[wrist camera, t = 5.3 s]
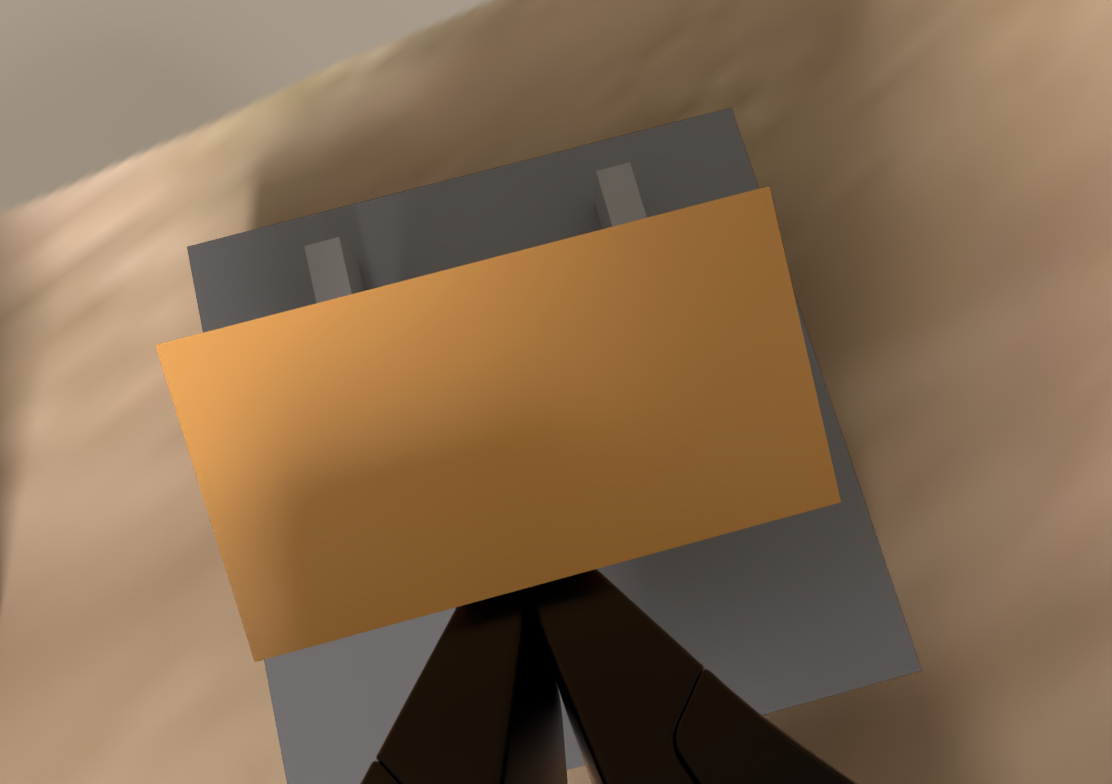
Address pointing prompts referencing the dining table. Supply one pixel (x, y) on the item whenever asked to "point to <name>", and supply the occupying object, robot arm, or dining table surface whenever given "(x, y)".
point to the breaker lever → (503, 423)
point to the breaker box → (649, 581)
